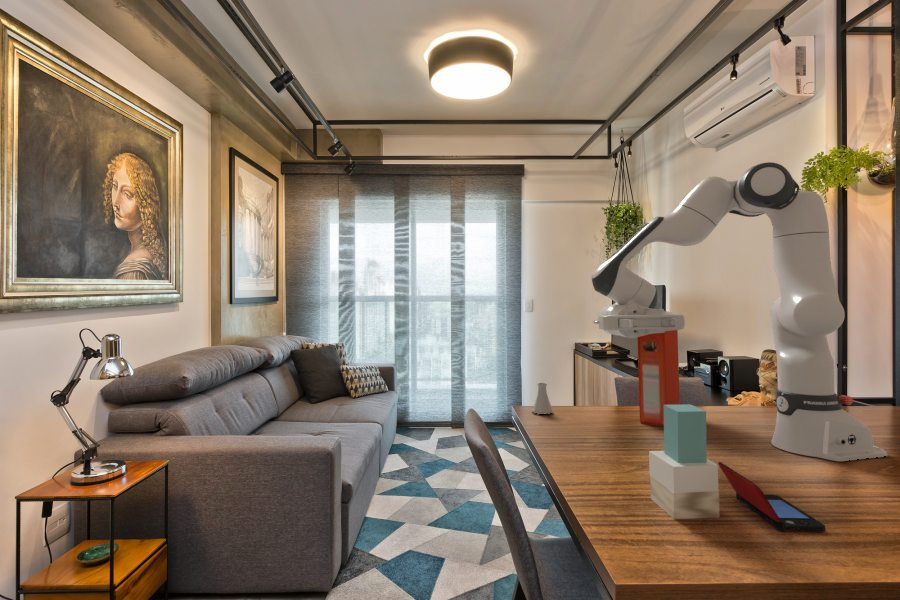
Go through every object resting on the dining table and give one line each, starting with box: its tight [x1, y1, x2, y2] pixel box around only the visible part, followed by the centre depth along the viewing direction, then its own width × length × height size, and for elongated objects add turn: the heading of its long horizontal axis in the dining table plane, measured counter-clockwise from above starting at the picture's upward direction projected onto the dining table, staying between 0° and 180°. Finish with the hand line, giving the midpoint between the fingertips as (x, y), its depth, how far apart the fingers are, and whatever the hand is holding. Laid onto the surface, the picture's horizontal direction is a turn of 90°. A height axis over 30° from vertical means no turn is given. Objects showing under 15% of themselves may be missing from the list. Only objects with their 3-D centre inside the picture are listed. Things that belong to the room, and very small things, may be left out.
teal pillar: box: [663, 403, 708, 463], centre depth 80 cm, size 5×5×9 cm
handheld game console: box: [717, 461, 826, 533], centre depth 77 cm, size 12×11×7 cm
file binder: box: [636, 330, 681, 427], centre depth 140 cm, size 8×17×32 cm, turn 142°
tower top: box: [648, 450, 719, 493], centre depth 80 cm, size 8×8×4 cm
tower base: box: [649, 475, 720, 520], centre depth 80 cm, size 8×8×4 cm
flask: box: [531, 382, 554, 414], centre depth 150 cm, size 7×7×10 cm
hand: (654, 323), depth 104 cm, fingers open, 8 cm apart
